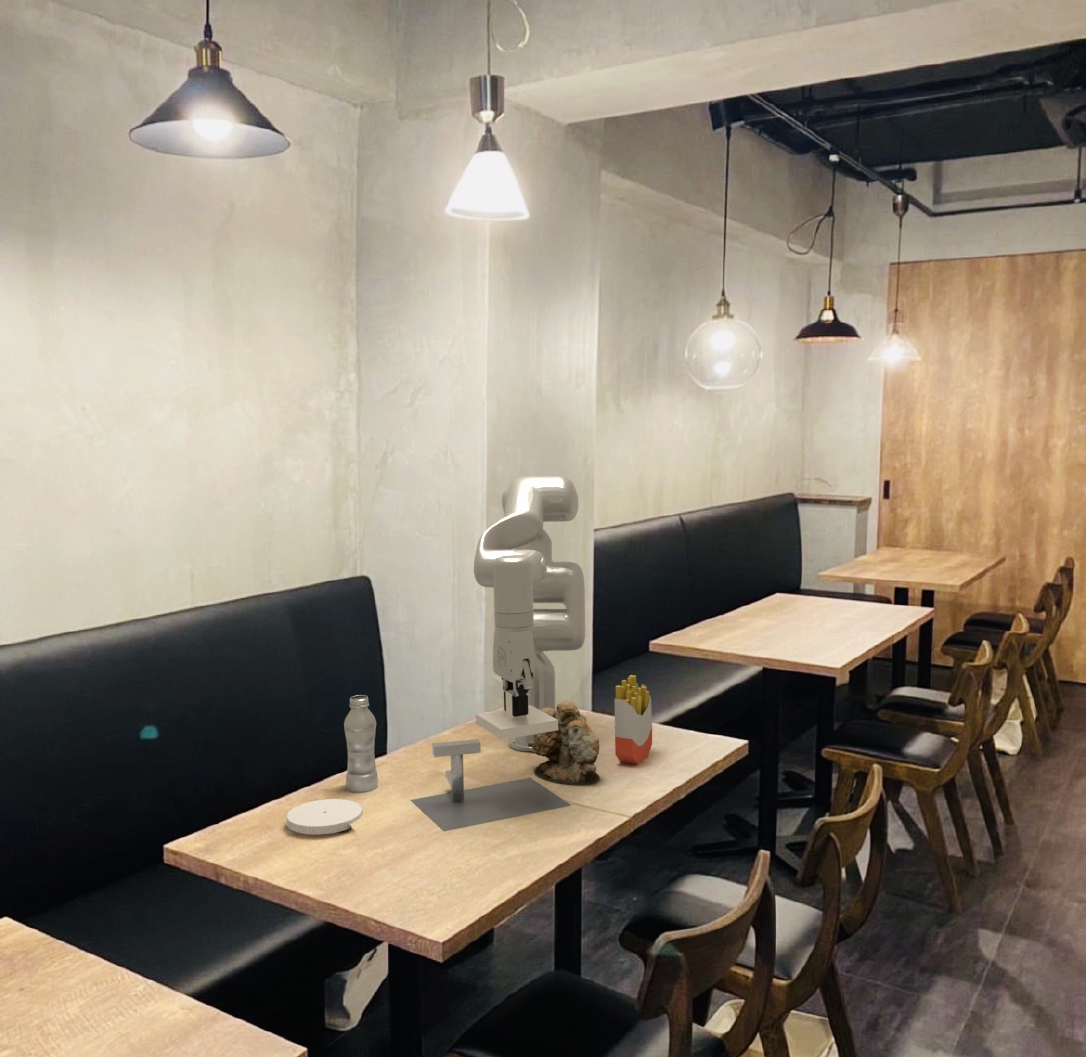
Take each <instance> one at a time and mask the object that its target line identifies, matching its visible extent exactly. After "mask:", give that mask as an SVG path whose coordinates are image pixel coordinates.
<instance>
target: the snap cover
mask: <svg viewBox="0 0 1086 1057" xmlns="http://www.w3.org/2000/svg"><path fill="white" fill-rule="evenodd" d="M505 693H506V711H504V708H503V709H497V710H490V711H485V712H479V713H475V724H476V725H478V726H479V727H480V728H482V729H484V730H485V731H487V732H488V733H490V734H491V735H493V736H495V737H496V738H497V739H499V740H500V741H503V740H509V739H510V738H516V737H521V736H527V735H533V734H539V733H545V732H551V731H556V730H558V720H557V719H555V718H553V717H552V716H550V715H548V714H546V713H544V712H542V711H541V710H539V709H537V708H535V707H533V706H531V705H528V715H523V716H517V717H514V716H513V715H512V696H514V691H513V690H509V691H505Z"/></svg>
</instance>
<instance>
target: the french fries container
mask: <svg viewBox="0 0 1086 1057" xmlns="http://www.w3.org/2000/svg"><path fill="white" fill-rule="evenodd" d="M640 686H641V687H639V684H638V683H637V675H636V674H634V675H633V674H630V675H629V676H628V677H627V680H626V679H623V680H621V685H619V684H618V685H616V686H615V698H614V746H615V747H614V752H615V753H614V754H615V756H616V757H617V759H618V760H619V762H620V763H625V764H631V763H632V765H640V764H641V763H642V762H643V761H645V760H646V759H648V757H649V754H650V752H651V749H652V745H653V718H652V713H653V712H652V697H651V695H650V691H649V690H647V688H648V686H646V685H645V684H641V685H640Z"/></svg>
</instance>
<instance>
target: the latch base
mask: <svg viewBox="0 0 1086 1057" xmlns="http://www.w3.org/2000/svg"><path fill="white" fill-rule="evenodd" d="M410 801H411V803H412V804H414V806H415V807H417V808H418V809H419V810H421V812H422V813H423V814H424V815H425V816H426V817H428V818H429V819H430V820H431V821H432V822H433V823H434V824H436V825H437V826H438V828H439V829H440V830H442V831H443V832H448V831H453V830H457V829H464V828H468V827H473V826H478V825H483V824H487V823H493V822H496V821H501V820H506V819H511V818H516V817H517V818H518V817H521V816H527V815H530V814H536V813H540V812H541V813H542V812H547V811H552V810H555V809H560V808H565V807H572V805H571V803H569V802H567V801H566V800H565V799H564V798H561V797H560V796H559V795H557V794H555V793H554V792H553V791H552V790H550V789H548V788H547V787H545V786H543V785H542V784H540V783H539V782H537V781H536V780H535V779H533V778H531V777H526V778H522V779H516V780H510V781H506V782H505V781H504V782H500V783H494V784H488V785H484V786H478V787H473V788H468V789H467V788H466V789H464V800H463V801H453V800H452V791H451V792H446V793H445V792H444V793H440V794H435V795H431V796H426V797H419V798H413V799H410Z"/></svg>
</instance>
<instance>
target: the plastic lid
mask: <svg viewBox="0 0 1086 1057" xmlns="http://www.w3.org/2000/svg"><path fill="white" fill-rule="evenodd" d="M363 814H364V812H363V806H362V805H361V804H360V803H358V802H356V801H354V800H353V801H352V800H350V799H349V800H348V799H344V798H343V799H338V798H327V799H319V800H313V801H308V802H305V803H302V804H299V805H297V806H295V807H293V808H291V809H290V810H289V811H288V812H287V814H286V826H287V828H288V829H289V830H291V831H292V832H294V833H298V834H304V835H326V834H327V835H329V834H336V833H339V832H342V831H346V830H349V829H352V825H351V824H354V823H356V822H357V821H358V820H360V819H361V818H362V816H363Z"/></svg>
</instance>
